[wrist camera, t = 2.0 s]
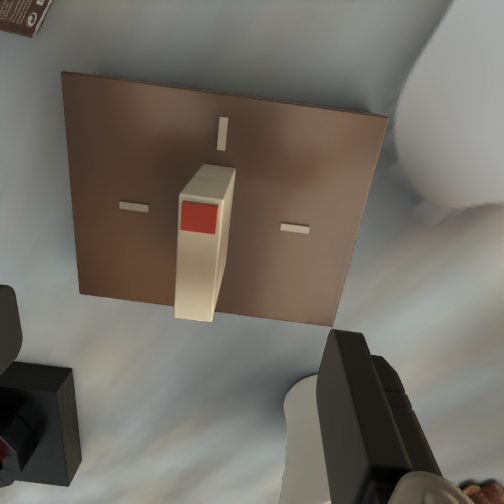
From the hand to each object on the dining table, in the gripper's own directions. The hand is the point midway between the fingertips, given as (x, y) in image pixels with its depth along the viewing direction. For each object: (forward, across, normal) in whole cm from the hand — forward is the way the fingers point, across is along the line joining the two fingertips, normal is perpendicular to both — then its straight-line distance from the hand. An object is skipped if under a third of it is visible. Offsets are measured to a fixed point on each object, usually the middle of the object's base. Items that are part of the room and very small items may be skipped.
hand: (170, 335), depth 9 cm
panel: (+12, 0, 0) cm, 12 cm away
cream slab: (+9, 0, 0) cm, 9 cm away
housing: (+12, +15, +19) cm, 27 cm away
